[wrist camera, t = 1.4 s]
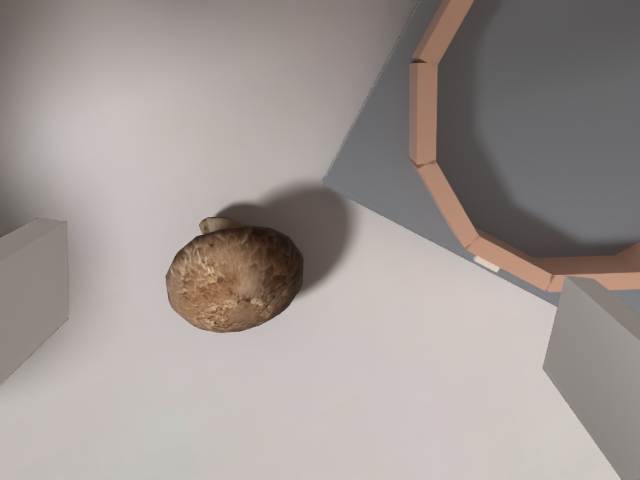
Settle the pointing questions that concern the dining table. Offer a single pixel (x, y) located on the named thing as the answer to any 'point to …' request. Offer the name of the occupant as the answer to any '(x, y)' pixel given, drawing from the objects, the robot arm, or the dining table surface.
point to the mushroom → (234, 276)
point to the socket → (510, 139)
